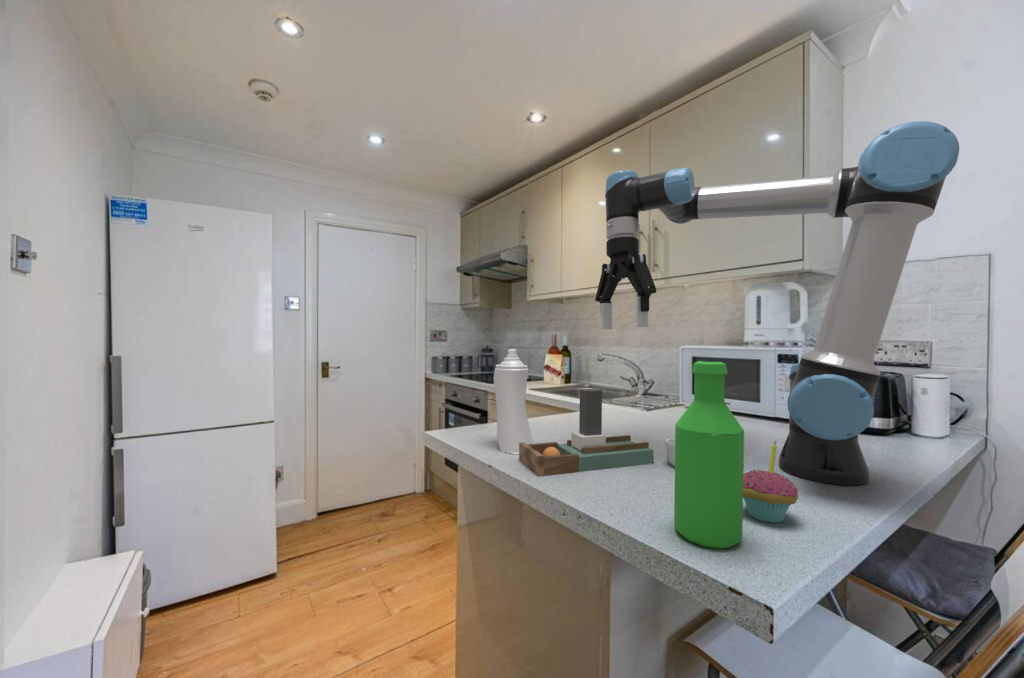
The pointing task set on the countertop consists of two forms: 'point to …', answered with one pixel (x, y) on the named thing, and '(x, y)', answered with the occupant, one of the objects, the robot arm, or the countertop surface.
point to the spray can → (511, 403)
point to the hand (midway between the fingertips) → (623, 328)
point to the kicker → (589, 420)
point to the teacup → (670, 450)
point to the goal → (547, 459)
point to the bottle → (709, 464)
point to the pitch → (609, 457)
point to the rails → (613, 447)
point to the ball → (551, 452)
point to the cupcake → (768, 493)
